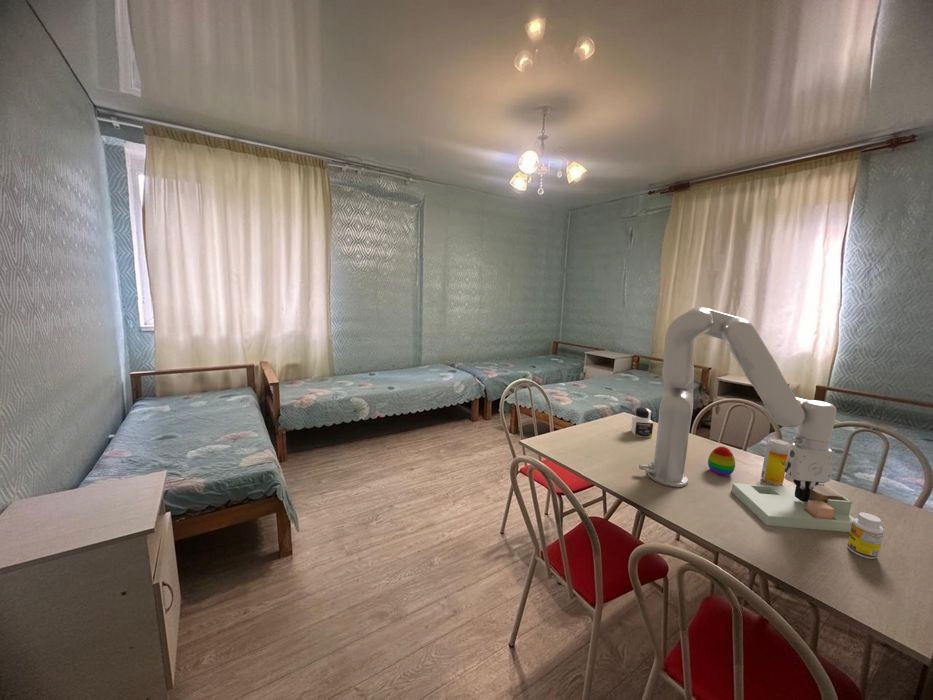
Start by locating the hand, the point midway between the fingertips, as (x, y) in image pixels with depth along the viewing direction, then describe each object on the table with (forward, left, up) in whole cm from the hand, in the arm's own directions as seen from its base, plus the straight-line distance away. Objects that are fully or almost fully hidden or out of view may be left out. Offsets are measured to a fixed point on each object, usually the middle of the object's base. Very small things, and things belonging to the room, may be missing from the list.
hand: (801, 499), depth 116 cm
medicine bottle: (-29, +55, -4) cm, 62 cm away
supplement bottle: (+3, -18, -4) cm, 18 cm away
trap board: (-3, 0, -4) cm, 5 cm away
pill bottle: (+3, +18, -4) cm, 19 cm away
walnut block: (+5, 0, -1) cm, 5 cm away
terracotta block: (+1, -6, -4) cm, 7 cm away
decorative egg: (-12, +22, -4) cm, 25 cm away
